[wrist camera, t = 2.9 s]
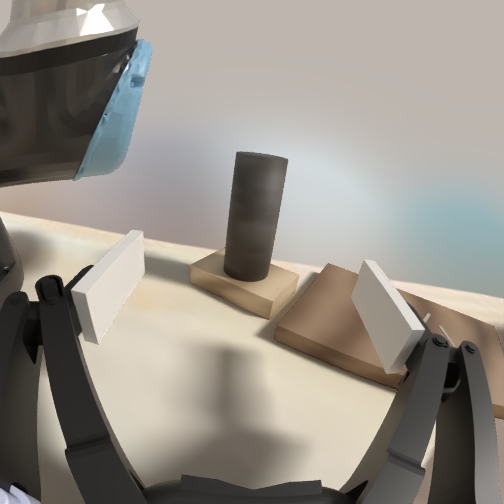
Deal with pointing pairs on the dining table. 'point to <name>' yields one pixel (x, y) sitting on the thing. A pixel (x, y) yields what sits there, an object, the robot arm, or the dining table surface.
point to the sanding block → (250, 240)
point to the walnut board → (359, 342)
